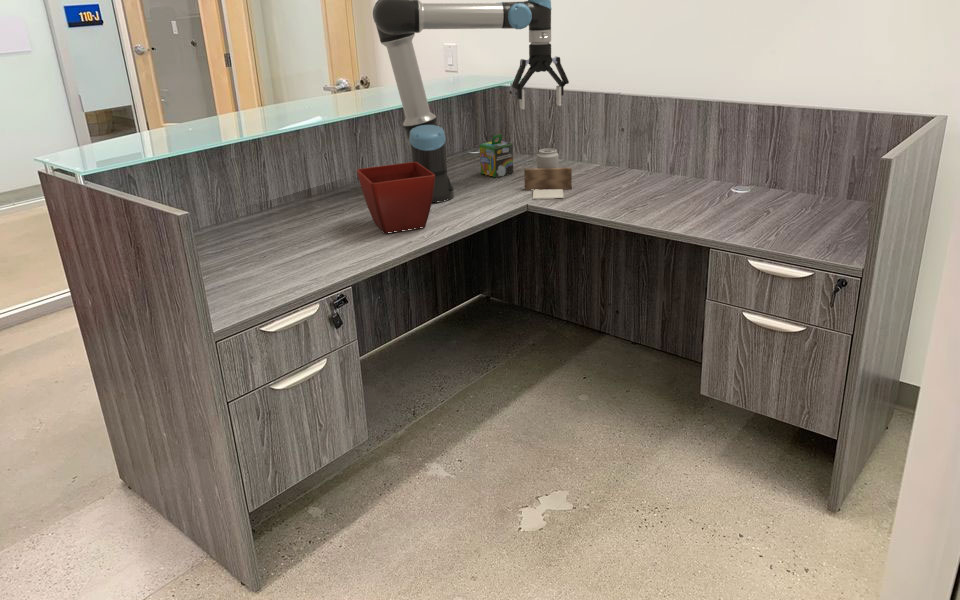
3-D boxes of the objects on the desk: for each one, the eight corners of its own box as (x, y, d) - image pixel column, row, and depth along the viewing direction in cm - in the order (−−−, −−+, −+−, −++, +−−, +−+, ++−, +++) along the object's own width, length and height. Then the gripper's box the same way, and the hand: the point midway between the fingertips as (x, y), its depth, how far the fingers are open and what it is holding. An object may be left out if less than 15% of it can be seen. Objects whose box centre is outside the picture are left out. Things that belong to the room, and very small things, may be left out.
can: (558, 180, 272) (558, 147, 267) (558, 186, 265) (558, 152, 260) (537, 181, 272) (537, 147, 268) (537, 186, 266) (536, 152, 261)
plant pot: (440, 229, 226) (436, 174, 220) (377, 240, 220) (371, 183, 214) (420, 213, 243) (416, 161, 236) (362, 222, 237) (355, 169, 230)
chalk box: (498, 169, 291) (496, 131, 285) (514, 173, 284) (513, 133, 278) (479, 174, 285) (477, 135, 279) (495, 178, 279) (494, 138, 273)
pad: (532, 199, 251) (532, 198, 250) (533, 191, 260) (533, 189, 260) (563, 199, 250) (563, 197, 250) (562, 190, 259) (562, 189, 259)
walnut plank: (524, 190, 262) (524, 170, 259) (524, 188, 264) (524, 168, 261) (571, 189, 261) (571, 168, 258) (571, 187, 262) (571, 167, 260)
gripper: (508, 46, 251) (510, 111, 259) (578, 41, 257) (577, 105, 266) (501, 44, 258) (503, 108, 266) (569, 40, 264) (569, 102, 272)
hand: (540, 107), depth 266 cm, fingers open, 13 cm apart
